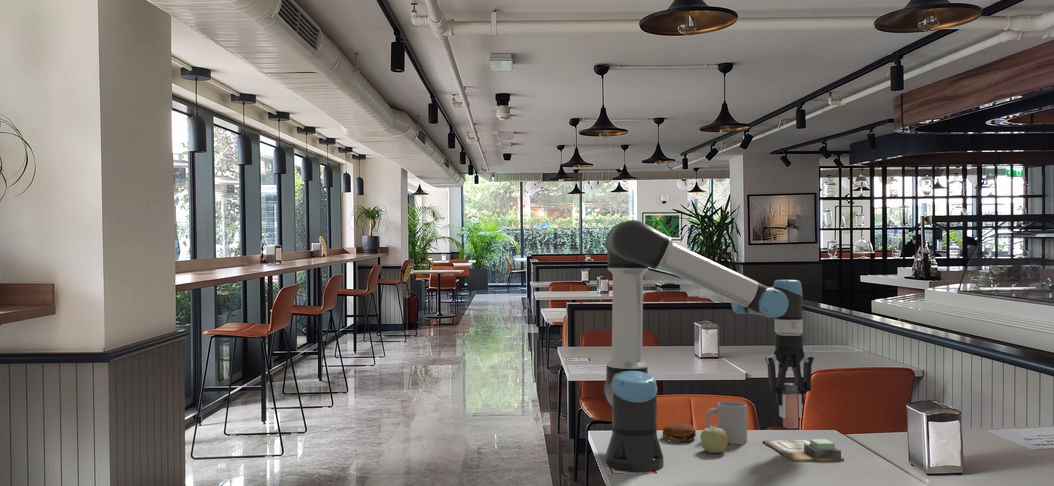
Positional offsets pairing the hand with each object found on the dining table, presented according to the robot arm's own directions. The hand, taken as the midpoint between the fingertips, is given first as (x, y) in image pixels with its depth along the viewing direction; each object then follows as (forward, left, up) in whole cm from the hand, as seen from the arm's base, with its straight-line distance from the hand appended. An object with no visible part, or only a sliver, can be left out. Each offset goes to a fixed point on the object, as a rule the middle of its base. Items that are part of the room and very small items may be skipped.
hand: (790, 416), depth 200 cm
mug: (-14, +12, -10) cm, 21 cm away
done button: (+6, -7, -7) cm, 12 cm away
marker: (0, 0, -3) cm, 3 cm away
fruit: (-22, 0, -10) cm, 24 cm away
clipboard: (+3, -1, -10) cm, 10 cm away
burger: (-28, +15, -10) cm, 33 cm away
